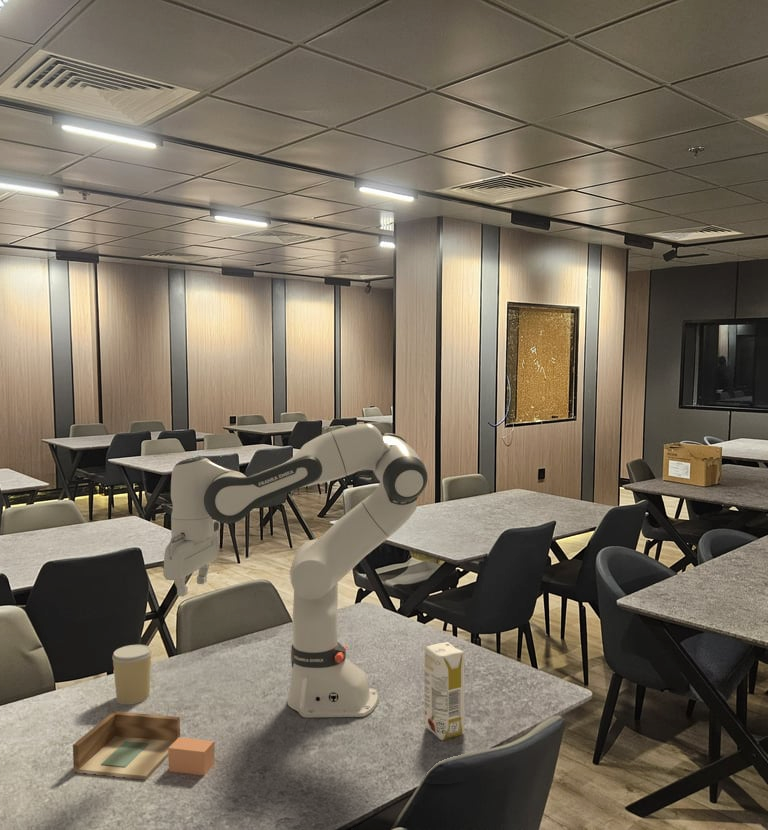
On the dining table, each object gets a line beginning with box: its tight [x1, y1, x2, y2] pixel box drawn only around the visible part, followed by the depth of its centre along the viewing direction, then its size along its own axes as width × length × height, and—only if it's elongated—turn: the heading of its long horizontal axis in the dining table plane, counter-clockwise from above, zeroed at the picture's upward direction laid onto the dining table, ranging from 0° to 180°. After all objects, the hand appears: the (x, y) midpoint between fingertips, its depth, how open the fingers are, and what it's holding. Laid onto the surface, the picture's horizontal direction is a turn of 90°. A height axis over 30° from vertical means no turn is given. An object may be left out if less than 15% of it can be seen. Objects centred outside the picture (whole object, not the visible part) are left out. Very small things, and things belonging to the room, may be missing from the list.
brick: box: [167, 736, 216, 776], centre depth 149 cm, size 8×4×5 cm, turn 78°
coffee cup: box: [111, 644, 153, 705], centre depth 182 cm, size 9×9×12 cm
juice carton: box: [424, 641, 466, 741], centre depth 164 cm, size 8×9×19 cm
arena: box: [72, 710, 181, 781], centre depth 153 cm, size 16×15×6 cm
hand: (192, 589), depth 164 cm, fingers open, 8 cm apart
